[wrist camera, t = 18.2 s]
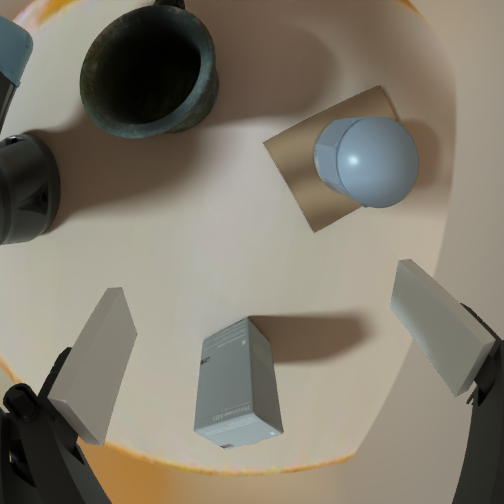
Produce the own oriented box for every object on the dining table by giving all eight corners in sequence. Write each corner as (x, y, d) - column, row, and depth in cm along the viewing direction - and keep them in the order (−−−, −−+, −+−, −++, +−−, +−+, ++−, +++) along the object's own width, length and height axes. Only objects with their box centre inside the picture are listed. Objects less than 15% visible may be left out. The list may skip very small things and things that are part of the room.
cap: (358, 206, 32) (385, 225, 25) (302, 162, 29) (320, 170, 23) (397, 151, 29) (432, 158, 23) (345, 104, 27) (373, 97, 20)
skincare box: (247, 314, 39) (254, 407, 24) (274, 346, 41) (288, 434, 27) (199, 340, 40) (187, 430, 26) (227, 368, 43) (226, 454, 28)
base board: (262, 142, 30) (263, 143, 29) (376, 86, 28) (380, 85, 27) (312, 230, 35) (314, 232, 34) (413, 171, 32) (418, 172, 31)
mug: (125, 136, 29) (72, 141, 18) (141, 24, 23) (101, -17, 12) (217, 139, 30) (205, 141, 19) (232, 23, 24) (231, -28, 13)
